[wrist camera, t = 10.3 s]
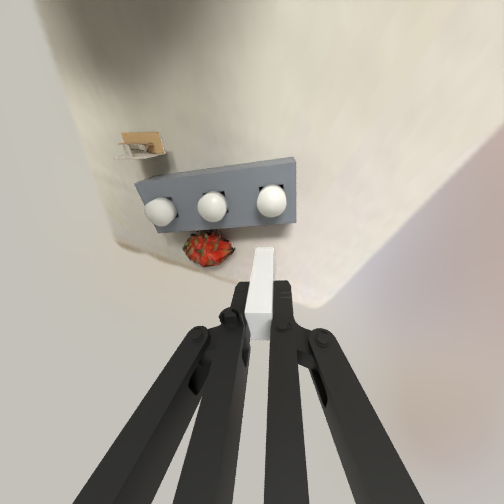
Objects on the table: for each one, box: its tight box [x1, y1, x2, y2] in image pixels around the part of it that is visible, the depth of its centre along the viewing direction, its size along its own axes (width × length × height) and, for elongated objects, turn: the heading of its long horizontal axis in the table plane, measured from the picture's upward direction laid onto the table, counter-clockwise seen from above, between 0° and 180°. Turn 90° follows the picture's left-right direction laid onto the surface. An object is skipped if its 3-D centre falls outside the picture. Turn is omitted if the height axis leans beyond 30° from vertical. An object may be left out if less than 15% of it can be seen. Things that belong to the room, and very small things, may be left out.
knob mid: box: [198, 191, 228, 222], centre depth 33 cm, size 5×5×8 cm
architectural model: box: [113, 132, 168, 159], centre depth 31 cm, size 3×7×7 cm, turn 91°
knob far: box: [144, 197, 177, 226], centre depth 35 cm, size 5×5×8 cm
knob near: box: [257, 184, 286, 217], centre depth 31 cm, size 5×5×8 cm
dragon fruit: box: [182, 230, 235, 267], centre depth 41 cm, size 8×8×12 cm
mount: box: [135, 157, 296, 233], centre depth 34 cm, size 10×28×6 cm, turn 98°
